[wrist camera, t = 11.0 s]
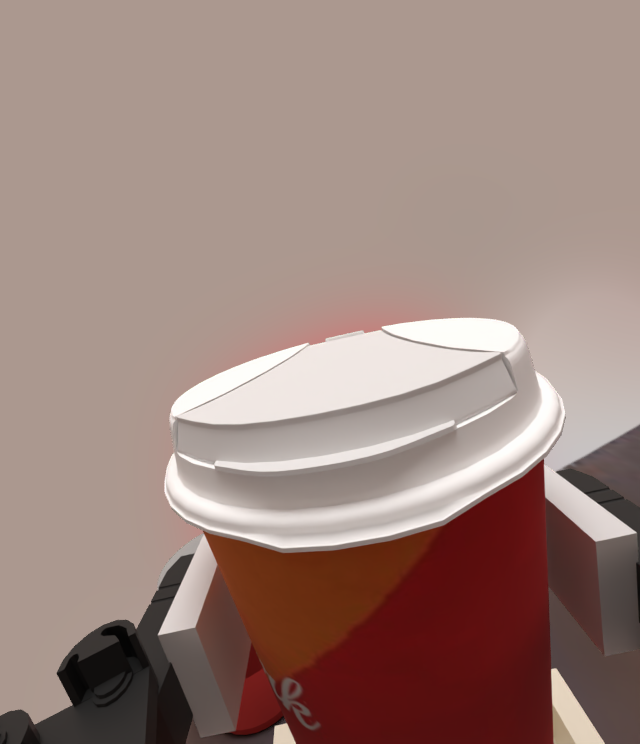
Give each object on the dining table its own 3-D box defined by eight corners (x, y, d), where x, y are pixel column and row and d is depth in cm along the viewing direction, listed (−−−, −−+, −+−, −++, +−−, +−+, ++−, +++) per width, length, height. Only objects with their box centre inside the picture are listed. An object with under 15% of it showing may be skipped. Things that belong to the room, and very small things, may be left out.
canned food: (318, 712, 24) (275, 577, 21) (199, 763, 23) (139, 626, 20) (302, 616, 31) (268, 508, 29) (211, 650, 30) (169, 541, 28)
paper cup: (328, 676, 15) (232, 355, 12) (524, 667, 13) (473, 301, 10) (291, 1088, 7) (-5, 490, 4) (728, 1159, 6) (758, 359, 3)
